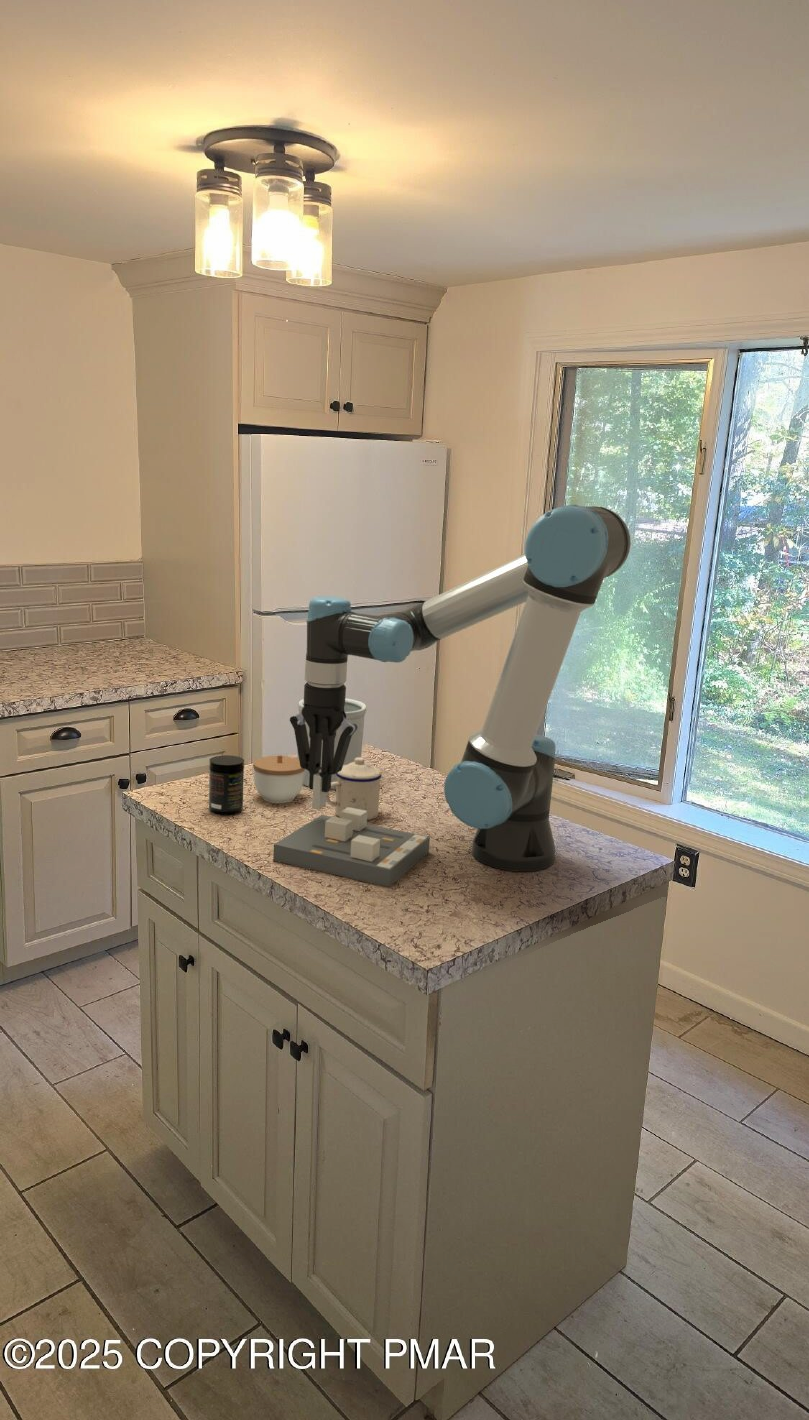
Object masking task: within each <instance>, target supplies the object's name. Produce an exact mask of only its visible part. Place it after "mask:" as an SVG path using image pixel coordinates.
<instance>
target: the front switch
mask: <svg viewBox="0 0 809 1420" xmlns="http://www.w3.org/2000/svg"><path fill="white" fill-rule="evenodd" d="M379 852H380V839H376V838H371V837H367V836H362V835H358V836H357V837H355V838H354V839H352V840H351V856H350V857H353V858H357V859H362V860H366V861H371V862H372V861H373V860H375V859H376V858H377V857H379Z"/></svg>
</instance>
